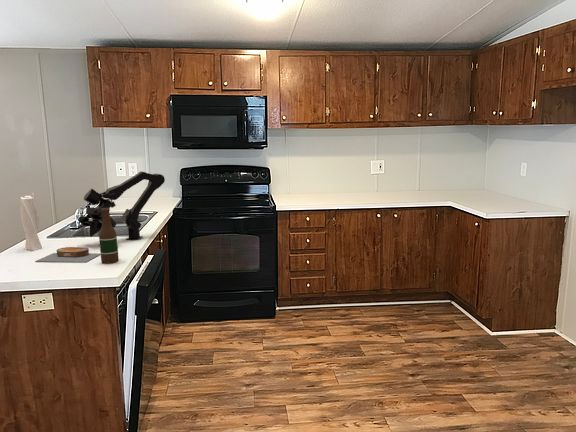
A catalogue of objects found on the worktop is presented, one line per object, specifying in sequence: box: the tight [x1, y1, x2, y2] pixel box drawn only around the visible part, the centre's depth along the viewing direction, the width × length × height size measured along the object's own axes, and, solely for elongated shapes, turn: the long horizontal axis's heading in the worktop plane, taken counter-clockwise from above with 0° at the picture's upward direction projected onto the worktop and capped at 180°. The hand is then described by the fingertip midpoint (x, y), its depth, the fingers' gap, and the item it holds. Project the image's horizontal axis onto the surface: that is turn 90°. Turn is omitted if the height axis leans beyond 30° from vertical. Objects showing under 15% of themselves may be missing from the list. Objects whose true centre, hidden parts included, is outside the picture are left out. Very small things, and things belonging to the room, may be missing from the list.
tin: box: [56, 246, 90, 257], centre depth 220 cm, size 15×3×8 cm
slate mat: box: [35, 252, 101, 264], centre depth 216 cm, size 14×24×1 cm, turn 84°
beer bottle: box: [98, 208, 120, 265], centre depth 207 cm, size 8×8×24 cm
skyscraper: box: [20, 192, 43, 251], centre depth 232 cm, size 8×8×28 cm
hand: (90, 236), depth 232 cm, fingers closed
